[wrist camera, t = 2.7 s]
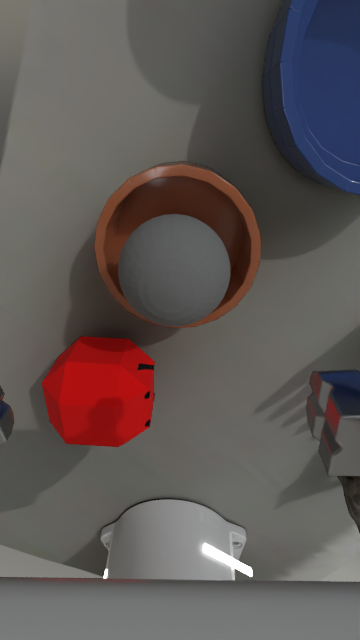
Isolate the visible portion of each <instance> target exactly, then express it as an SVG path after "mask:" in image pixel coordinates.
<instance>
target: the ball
mask: <svg viewBox="0 0 360 640" xmlns="http://www.w3.org/2000/svg"><path fill="white" fill-rule="evenodd" d="M154 366H155V362H154V361H153V360H152V359H151V358H150V357H149V356H148V355H146V354H145V353H144V352H143V351H142V350H141V349H140V348H138V347H137V346H136V345H135V344H134V343H133V342H132V341H130V340H129V339H120V338H102V337H84V336H81V337H80V338H79V339H78V340H77V341H75V342H74V343H73V344H72V345H71V346H70V347H69V348H68V349H67V350H65V351H64V352H63V353H62V354H61V355H60V356H59V357H58V359H57V360H56V362H55V363H54V365H53V366H52V368H51V370H50V371H49V373H48V374H47V376H46V377H45V379H44V380H43V382H42V387H43V392H44V397H45V401H46V406H47V411H48V416H49V420H50V422H51V424H52V425H53V426H54V428H55V429H56V430H57V432H58V433H59V434H60V436H61V437H62V439H63V440H64V441H65V443H66V444H79V445H95V446H111V447H119V446H121V445H123V444H125V443H126V442H128V441H129V440H131V439H132V438H134V437H135V436H137V435H138V434H140V433H141V432H143V431H144V430H146V429H147V428H149V427H150V422H151V416H152V410H153V401H154V397H155V393H154Z"/></svg>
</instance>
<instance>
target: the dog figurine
mask: <svg viewBox="0 0 360 640" xmlns="http://www.w3.org/2000/svg"><path fill="white" fill-rule="evenodd" d="M337 477H338V478H339V480H340V481H341V484H342V486H343V490H344V496H345V500H346V504H347V508H348V511H349V513H350V515H351V517H352V518H353V520H354V521H355V523H356V525H357V527H358V530H359V533H360V476H354V477H351V476H337Z"/></svg>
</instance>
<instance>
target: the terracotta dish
mask: <svg viewBox="0 0 360 640" xmlns="http://www.w3.org/2000/svg"><path fill="white" fill-rule="evenodd" d="M167 214H181V215H187V216H190V217H193V218H196V219H198V220H200V221H202V222H203V223H205V224H207V225H208V226H209V227H210V228H211V229H212V230H213V231H215V232H216V234H217V235H218V236H219V238H220V239H221V240H222V242H223V244H224V246H225V248H226V250H227V253H228V257H229V261H230V280H229V285H228V288H227V291H226V293H225V296H224V298H223V299H222V301H221V302H220V304H219V305H218V306H217V308H216V309H214V310H213V311H212V312H211V313H210V314H209V315H208V316H206V317H205V318H203V319H202V320H200V321H197V322H195V323H193V324H189V325H185V326H177V327H172V328H181V327H194V326H195V327H196V326H199V325H202V324H205V323H208V322H211V321H214V320H216V319H218V318H220V317H221V316H223V315H224V314H225V313H227V312H228V311H230V310H231V309H233V308H234V307H235V306H236V305H237V304H238V303H239V302H240V300H241V299H242V298H243V297H244V295H245V294H246V293H247V291H248V290H249V289H250V288H251V286H252V283H253V280H254V278H255V275H256V272H257V270H258V267H259V263H260V250H261V236H260V232H259V229H258V226H257V222H256V219H255V216H254V212H253V210H252V209H251V208H250V206H249V205H248V203H247V202H246V201H245V199H244V198H243V196H242V195H241V194H240V192H239V191H238V189H237V188H236V187H235V186H234V185H233V184H232V183H231V182H230V181H229V180H227V179H226V178H224V177H223V176H222V175H220V174H219V173H217V172H216V171H214V170H213V169H211V168H209V167H207V166H203V165H200V164H196V163H192V162H188V161H179V162H167V163H160V164H158V165H156V166H154V167H152V168H150V169H148V170H145V171H143V172H141V173H139V174H137V175H135V176H133V177H131V178H129V179H128V180H127V181H126V182H125V183H124V184H123V185H122V186H121V187H120V188H119V189H118V190H117V191H116V192H115V193H114V194H113V195H112V196H111V197H110V198H109V199H108V201H107V203H106V205H105V207H104V209H103V211H102V213H101V215H100V218H99V220H98V222H97V228H96V237H95V246H94V248H95V249H94V250H95V255H96V260H97V265H98V269H99V273H100V275H101V277H102V279H103V281H104V283H105V284H106V286H107V288H108V290H109V292H110V293H111V294H112V296H113V297H114V298H115V299H116V300H117V301H118V302H119V303H120V304H121V305H122V306H123V307H124V308H125V309H126V310H127V311H129V312H130V313H132V314H134V315H136V316H137V317H139V318H141V319H143V320H145V321H147V322H149V323H152V324H156V323H153V322H151V321H149V320H147V319H145V318H144V317H143V316H141V315H140V314H139V313H137V312H136V311H135V310H134V309H133V308H132V306H131V305H130V304H129V303H128V301H127V299H126V298H125V296H124V294H123V291H122V289H121V286H120V282H119V277H118V261H119V257H120V253H121V250H122V248H123V246H124V244H125V242H126V240H127V239H128V238H129V236H130V235H131V234H132V233H133V231H134V230H135V229H137V228H138V227H139V226H140V225H141V224H143V223H145V222H146V221H148V220H150V219H152V218H155V217H158V216H161V215H167ZM156 325H159V324H156ZM161 326H163V325H161ZM165 327H170V328H171V326H165Z"/></svg>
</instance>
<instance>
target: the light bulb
mask: <svg viewBox="0 0 360 640" xmlns="http://www.w3.org/2000/svg"><path fill="white" fill-rule="evenodd" d="M118 277H119V282H120V286H121V289H122V291H123V294H124V296H125V298H126V299H127V301H128V303H129V304H130V305H131V306H132V308H133V309H134V310H135V311H136V312H137V313H139V314H140V315H141V316H143V317H144V318H145V319H147V320H149V321H151V322H153V323H156V324H159V325H163V326H171V327H177V326H185V325H189V324H193V323H195V322H197V321H200V320H202V319H203V318H205V317H206V316H208V315H209V314H210V313H211V312H212V311H213V310H214V309H216V308H217V306H218V305H219V304H220V302H221V301H222V299H223V298H224V296H225V293H226V291H227V288H228V285H229V280H230V261H229V257H228V253H227V250H226V248H225V246H224V244H223V242H222V240H221V239H220V238H219V236H218V235H217V234H216V232H215V231H213V230H212V229H211V228H210V227H209V226H208V225H207V224H205V223H203V222H202V221H200V220H198V219H196V218H193V217H190V216H187V215H181V214H167V215H161V216H158V217H155V218H152V219H150V220H148V221H146V222H145V223H143V224H141V225H140V226H139V227H138V228H137V229H135V230H134V231H133V233H132V234H131V235H130V236H129V238H128V239H127V240H126V242H125V244H124V246H123V248H122V250H121V253H120V257H119V261H118Z"/></svg>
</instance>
